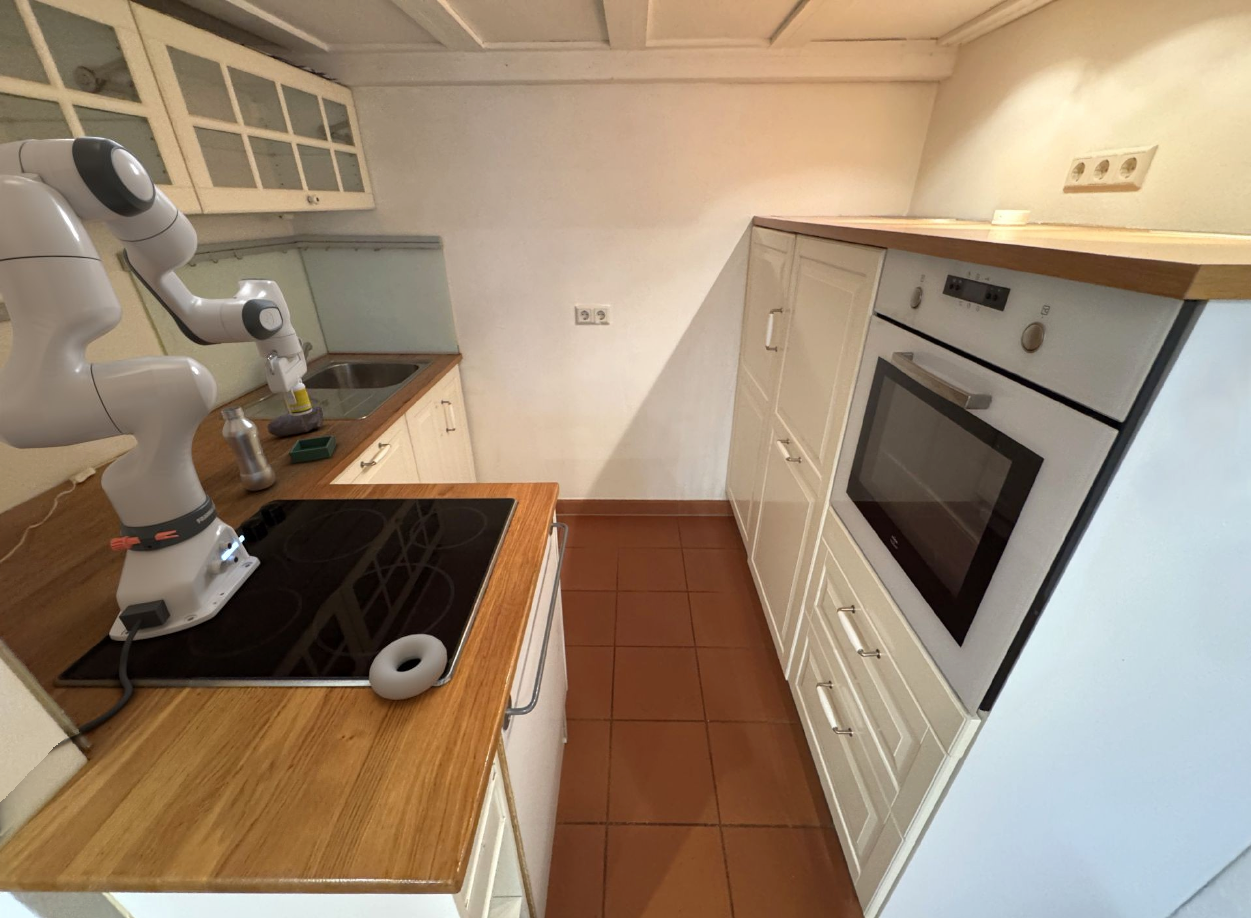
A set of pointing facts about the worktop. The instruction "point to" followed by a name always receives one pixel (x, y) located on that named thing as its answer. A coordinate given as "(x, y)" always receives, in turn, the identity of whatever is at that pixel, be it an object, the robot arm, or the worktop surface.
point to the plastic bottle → (247, 449)
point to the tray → (313, 449)
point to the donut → (414, 680)
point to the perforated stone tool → (296, 423)
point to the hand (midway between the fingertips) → (296, 399)
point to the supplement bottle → (299, 400)
